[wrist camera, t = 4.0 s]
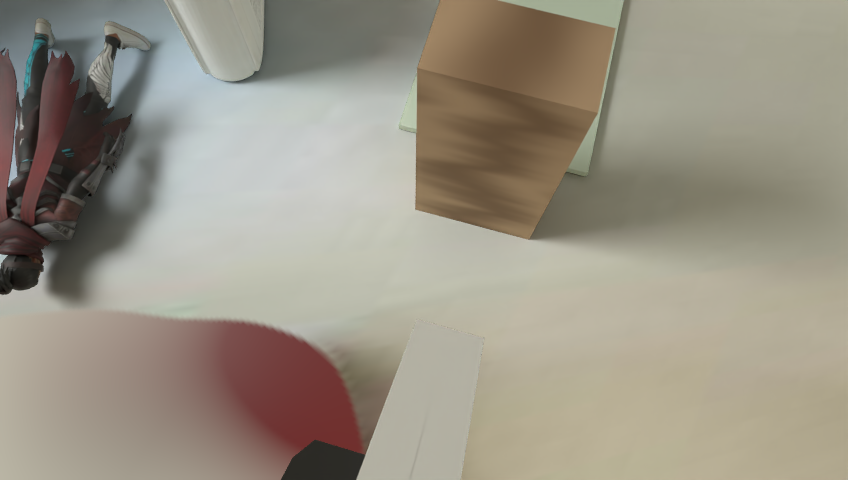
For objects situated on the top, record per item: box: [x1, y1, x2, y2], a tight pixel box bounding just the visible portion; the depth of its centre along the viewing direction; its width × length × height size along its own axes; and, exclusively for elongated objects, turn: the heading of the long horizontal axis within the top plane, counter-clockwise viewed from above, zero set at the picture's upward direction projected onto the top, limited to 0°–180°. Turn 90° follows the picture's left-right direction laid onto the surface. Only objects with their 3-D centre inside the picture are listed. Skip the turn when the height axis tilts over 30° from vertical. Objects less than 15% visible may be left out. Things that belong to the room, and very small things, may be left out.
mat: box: [399, 0, 624, 177], centre depth 40 cm, size 12×16×1 cm
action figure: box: [0, 18, 151, 295], centre depth 34 cm, size 8×6×18 cm
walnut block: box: [415, 0, 616, 240], centre depth 30 cm, size 7×4×14 cm, turn 74°
